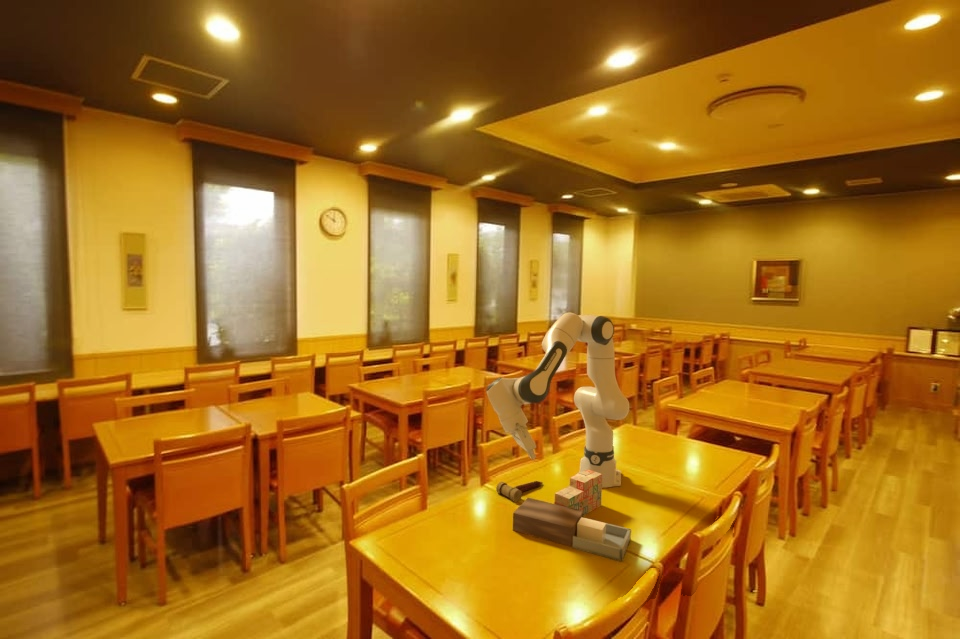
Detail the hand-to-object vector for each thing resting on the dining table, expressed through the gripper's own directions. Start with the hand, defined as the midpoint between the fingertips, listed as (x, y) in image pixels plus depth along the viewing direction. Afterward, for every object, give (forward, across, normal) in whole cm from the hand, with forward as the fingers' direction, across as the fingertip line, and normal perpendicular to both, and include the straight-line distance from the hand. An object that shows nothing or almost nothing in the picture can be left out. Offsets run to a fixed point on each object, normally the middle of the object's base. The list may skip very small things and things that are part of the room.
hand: (533, 458), depth 163 cm
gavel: (+15, +26, +7) cm, 31 cm away
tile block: (+24, -10, -2) cm, 26 cm away
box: (+31, -13, -5) cm, 34 cm away
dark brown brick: (+22, -4, +7) cm, 23 cm away
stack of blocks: (+26, +8, -6) cm, 28 cm away
